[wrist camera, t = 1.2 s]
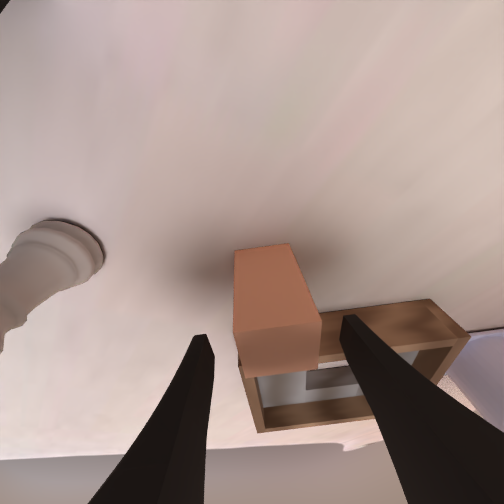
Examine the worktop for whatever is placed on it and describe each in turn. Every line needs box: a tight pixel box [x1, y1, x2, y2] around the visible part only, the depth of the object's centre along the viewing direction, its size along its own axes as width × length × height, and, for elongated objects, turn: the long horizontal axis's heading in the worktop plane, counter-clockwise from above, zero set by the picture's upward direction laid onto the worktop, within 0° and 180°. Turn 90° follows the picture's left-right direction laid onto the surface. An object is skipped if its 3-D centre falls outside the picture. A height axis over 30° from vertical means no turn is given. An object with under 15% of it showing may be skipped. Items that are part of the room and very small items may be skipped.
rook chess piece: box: [0, 221, 103, 353], centre depth 11 cm, size 4×4×8 cm
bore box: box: [238, 299, 471, 433], centre depth 21 cm, size 18×14×4 cm
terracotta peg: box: [233, 243, 322, 378], centre depth 13 cm, size 4×4×7 cm
